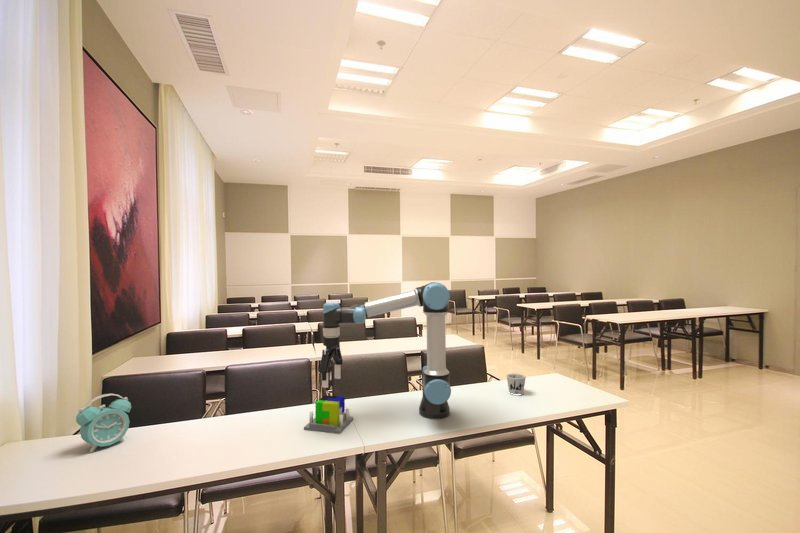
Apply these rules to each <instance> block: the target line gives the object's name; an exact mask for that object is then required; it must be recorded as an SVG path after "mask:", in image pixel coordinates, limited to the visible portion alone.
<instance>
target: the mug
mask: <svg viewBox="0 0 800 533" xmlns="http://www.w3.org/2000/svg"><path fill="white" fill-rule="evenodd" d="M526 378H527V377H526V375H524V374H521V373H520V374H519V373H507V374H506V380H507V387H508V392H510V393H513V394H523V395H524V392H525V385H526V384H525V383H526ZM510 393H509V394H510Z"/></svg>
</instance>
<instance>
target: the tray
mask: <svg viewBox="0 0 800 533" xmlns="http://www.w3.org/2000/svg"><path fill="white" fill-rule="evenodd" d="M353 420H354V416H350V408H345V418H344V419H343V415H342V414H341V415H339V425H338V426H337V427H336V426H335V425H326V424H317V423H315V417H314V411H312V410H311V411H309V422H308V423H307V424H305V426H303V430H305V431H311V432H320V433H327V434H328V433H329V434H337V435H340V434H341V433H342V432H343V431H344V430H345V429H347V427H348V426H349V424H351V422H353Z"/></svg>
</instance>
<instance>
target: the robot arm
mask: <svg viewBox="0 0 800 533" xmlns="http://www.w3.org/2000/svg"><path fill="white" fill-rule="evenodd" d="M450 299H451V295H450V291H449V290H448V288H447V286H446V285H444V284H443V283H441V282H437V281H436V282H435V281H433V282H429V283H427V284H424V285H422V286H418V287H415V288H414V290H410V291H407V292H402V293H398V294H394V295H390V296H385V297H381V298H378V299H373V300H370V301H365V302H361V303H356V304H353V305H351V306H341V305H340V303H339V302H325V303H324V304H323V306H322V336H323V337H322V345H323V346H324V347H326V348H325V349H322V352H321V353H322V354H321V361H320V366H319V370H318V373H319V374H321V388H324V389H325V388H326V389H327V388H329V371H328V370H329V366H330V363H331V360H332V359H333V361H334V363H335V364H334V379H336V380H337V379H338V380H340V379H341V377H342V376H341V375H342V374H341V372H342V370H341V368H342V367H341V365H343V363H344V362H343V357H342V356H343V355H342V351H341V344H340V342H341V340H340V339H341V338H340V336H341V334H340V333H341V331H340V329H341V328H340V324H356V325H358V324H364V323H366V318H370V317H371V318H372V317H374V316H378V315H379V316H380V315H383V314H387V313H391V312H392V313H393V312H396V311H399V310H404V309H409V308H412V307H417V306H418V307H420V308H421V307H422V313H424V315H426V365H424V366H423V367H422V372H421V374H422V397H421V400H420V404H419V408H418V412H419V415H420V416H422V417H423V418H426V419H435V420H436V419H444V418H447V417H448V416H450V414H451V412H450V411H451V410H450V406H449V403H448V400H449V399H450V397H451V395H452V388H451V385H450V384H451V383H450V370H448V369H447V359H446V358H447V350H446V349H447V346H446V345H447V344H446V336H447V335H446V316H447V314H449V302H450Z"/></svg>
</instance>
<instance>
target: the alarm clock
mask: <svg viewBox="0 0 800 533" xmlns="http://www.w3.org/2000/svg"><path fill="white" fill-rule="evenodd" d="M109 396H116V397H118V399H115V400H114V401H112V402H111V403H110V404H109V405H108V407H106V404H102V405H99V406H98V407H97V406H90V405H91V404H92V403H93V402H95V401H96V400H98V399H102V398H105V397H109ZM131 409H132V403H131V402H130V401H129V399H128V397H127V396H124V397H123V396H121V395H120V394H116V393H104V394H101V395H98V396H95V397H94V398H92V399H91V400H89V401H88V402H87V403H86V404H85V405H84V406H83V407H80V408H79V409H78V411H77V412H78V413H77V414H76V416H75V417H76V418H75V422H76V423H77V425H78V426H80V429H79V434H80V438H81V439H82V440H83V441H84V442H86V444H90V445H92V446H91V448H90V449H89V451H88V453H93V452H95V451H96V449H97V448H98V447H109V446H111V445H113V444H115V443H118V442H120V443H123V442H125V441H126V440H125V439H124V436H126V434H127V432H128V431H129V427H130V422H131V421H130V418H129V415H128V414H129V413H130V411H131ZM127 413H128V414H127Z"/></svg>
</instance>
